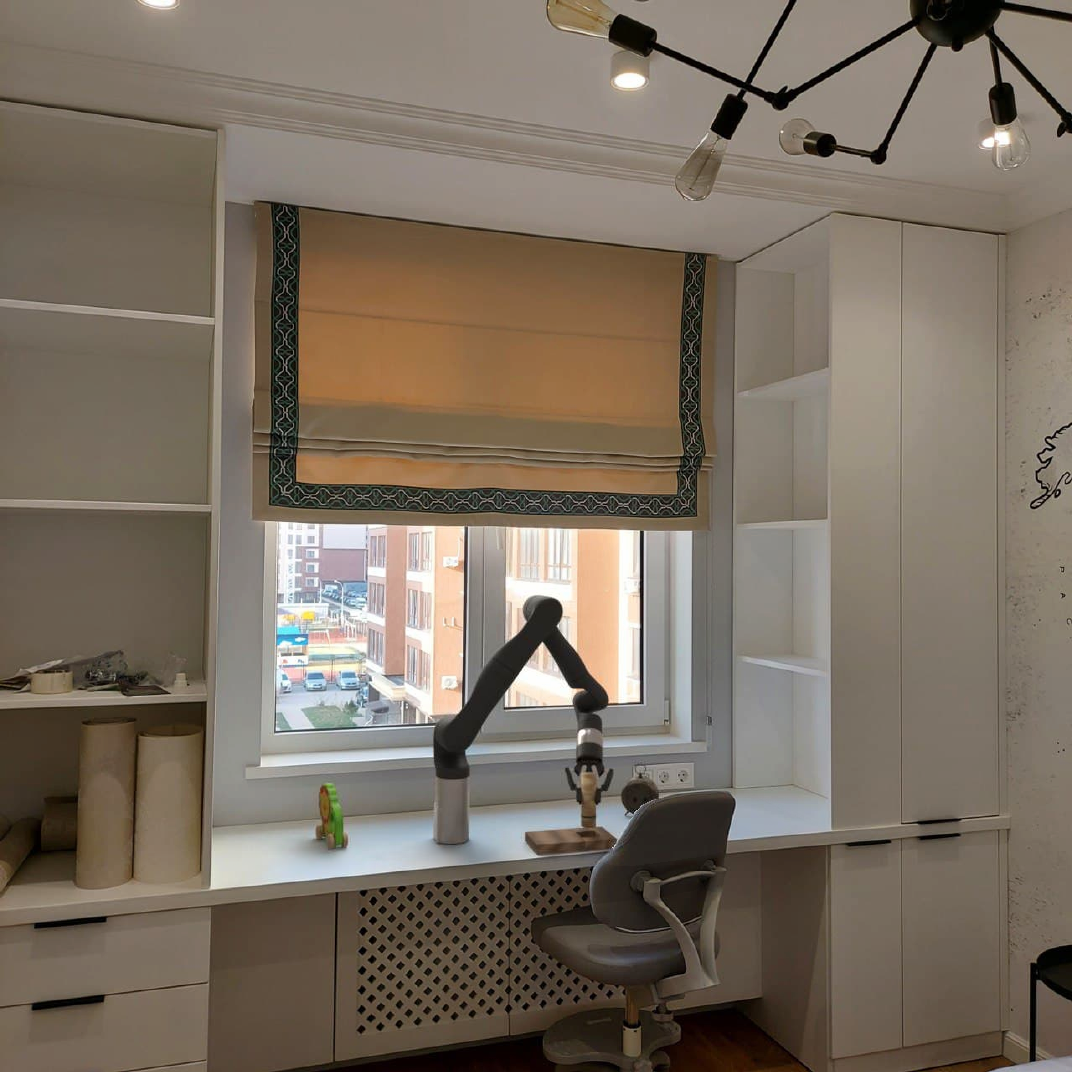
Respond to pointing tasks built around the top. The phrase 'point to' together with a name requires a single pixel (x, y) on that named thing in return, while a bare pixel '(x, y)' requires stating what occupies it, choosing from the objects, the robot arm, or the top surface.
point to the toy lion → (331, 818)
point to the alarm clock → (638, 792)
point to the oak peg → (588, 800)
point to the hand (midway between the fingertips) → (588, 802)
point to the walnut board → (569, 840)
